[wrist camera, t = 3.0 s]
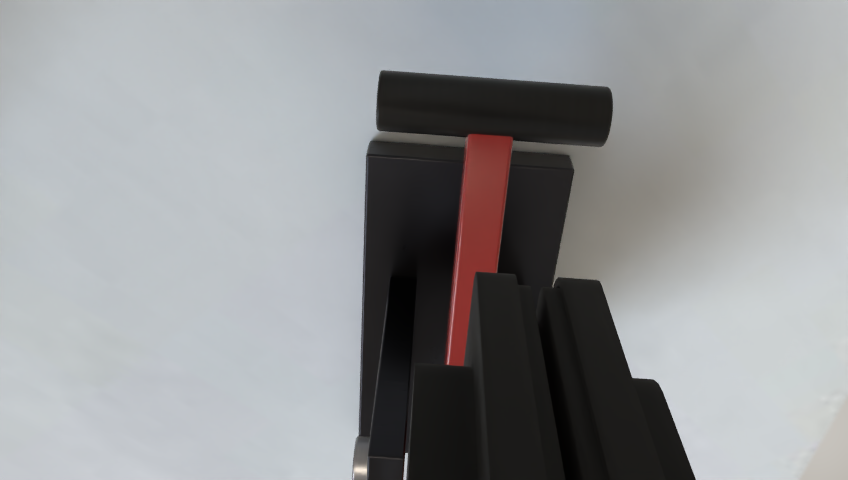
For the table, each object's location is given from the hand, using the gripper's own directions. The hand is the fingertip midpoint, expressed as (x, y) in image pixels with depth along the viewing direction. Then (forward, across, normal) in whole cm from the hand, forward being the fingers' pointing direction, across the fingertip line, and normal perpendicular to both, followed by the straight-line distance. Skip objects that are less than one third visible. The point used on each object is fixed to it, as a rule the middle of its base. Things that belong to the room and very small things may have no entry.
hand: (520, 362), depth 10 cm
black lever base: (+16, 0, +10) cm, 19 cm away
